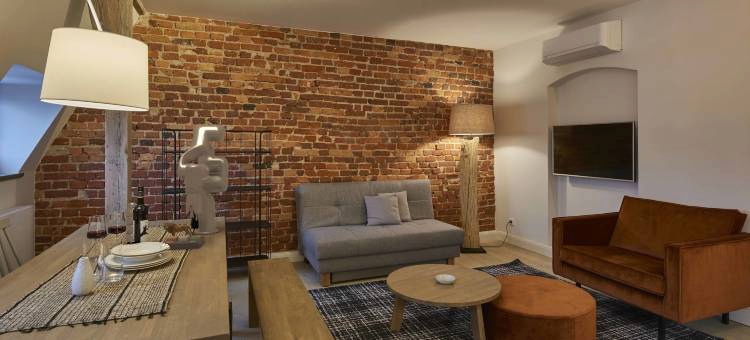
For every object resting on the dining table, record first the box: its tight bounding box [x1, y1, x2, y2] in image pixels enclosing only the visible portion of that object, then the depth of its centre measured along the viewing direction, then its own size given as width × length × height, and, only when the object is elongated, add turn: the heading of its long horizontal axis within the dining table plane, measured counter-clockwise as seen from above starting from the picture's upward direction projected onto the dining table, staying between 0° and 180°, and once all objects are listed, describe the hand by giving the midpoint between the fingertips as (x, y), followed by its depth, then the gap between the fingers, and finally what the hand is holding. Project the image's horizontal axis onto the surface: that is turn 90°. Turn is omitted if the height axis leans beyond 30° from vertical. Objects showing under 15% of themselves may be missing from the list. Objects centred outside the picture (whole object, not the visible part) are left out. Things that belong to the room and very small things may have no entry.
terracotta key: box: [166, 235, 180, 241], centre depth 202 cm, size 4×4×2 cm
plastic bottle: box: [124, 202, 137, 243], centre depth 208 cm, size 6×7×20 cm
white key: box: [178, 235, 190, 241], centre depth 203 cm, size 4×4×2 cm
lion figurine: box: [163, 221, 195, 237], centre depth 220 cm, size 15×5×9 cm, turn 119°
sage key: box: [190, 234, 202, 241], centre depth 204 cm, size 4×4×2 cm
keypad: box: [162, 236, 206, 251], centre depth 202 cm, size 12×16×3 cm
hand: (194, 228), depth 203 cm, fingers closed
